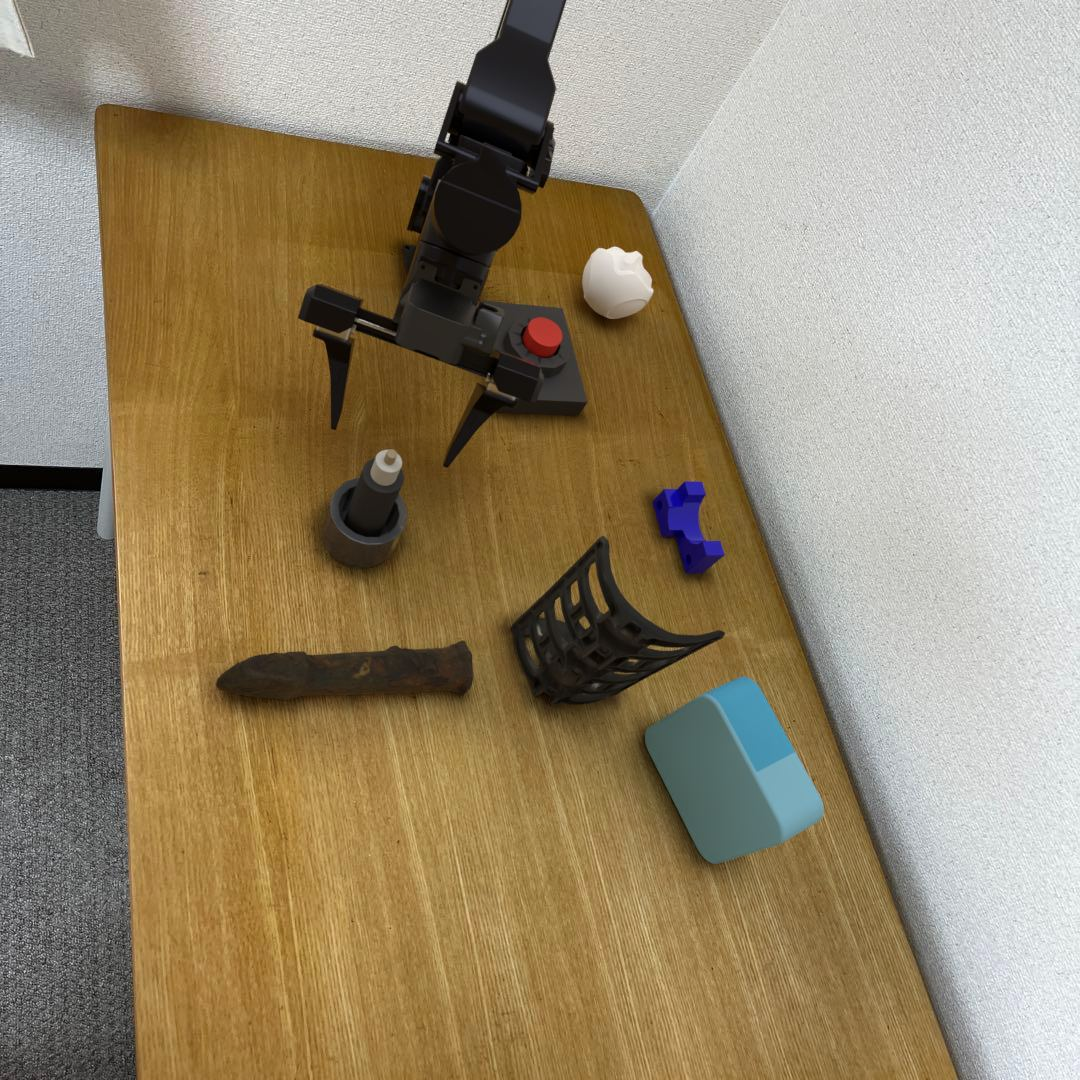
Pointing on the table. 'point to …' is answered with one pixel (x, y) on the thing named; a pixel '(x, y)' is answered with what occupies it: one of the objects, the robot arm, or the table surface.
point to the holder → (594, 638)
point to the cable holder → (687, 526)
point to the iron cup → (355, 546)
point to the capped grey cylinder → (375, 494)
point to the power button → (542, 337)
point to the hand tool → (351, 673)
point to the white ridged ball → (616, 283)
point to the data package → (733, 772)
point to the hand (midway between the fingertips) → (390, 447)
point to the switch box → (543, 361)
